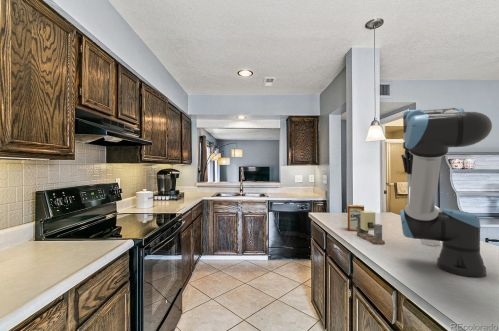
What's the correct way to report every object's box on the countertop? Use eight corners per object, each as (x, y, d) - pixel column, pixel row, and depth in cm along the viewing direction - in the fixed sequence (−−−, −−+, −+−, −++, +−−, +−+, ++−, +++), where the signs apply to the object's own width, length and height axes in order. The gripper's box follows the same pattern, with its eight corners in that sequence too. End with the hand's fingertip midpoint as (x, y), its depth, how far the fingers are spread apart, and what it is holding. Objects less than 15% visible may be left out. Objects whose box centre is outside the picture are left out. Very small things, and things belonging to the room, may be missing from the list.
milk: (420, 243, 138) (420, 201, 138) (428, 241, 140) (428, 201, 140) (432, 246, 132) (432, 203, 132) (440, 245, 134) (440, 202, 134)
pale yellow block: (375, 230, 145) (375, 212, 145) (365, 230, 144) (365, 212, 144) (370, 228, 150) (370, 210, 150) (360, 228, 149) (360, 211, 149)
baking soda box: (347, 230, 163) (347, 205, 163) (347, 228, 170) (347, 204, 169) (364, 232, 160) (364, 206, 160) (363, 229, 166) (363, 204, 166)
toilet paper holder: (384, 244, 136) (384, 222, 136) (373, 244, 135) (373, 222, 135) (366, 234, 154) (366, 215, 154) (356, 235, 153) (356, 215, 153)
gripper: (428, 139, 127) (428, 187, 127) (409, 142, 140) (409, 185, 140) (413, 139, 126) (413, 187, 126) (396, 142, 139) (396, 185, 139)
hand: (411, 186), depth 133 cm, fingers closed
